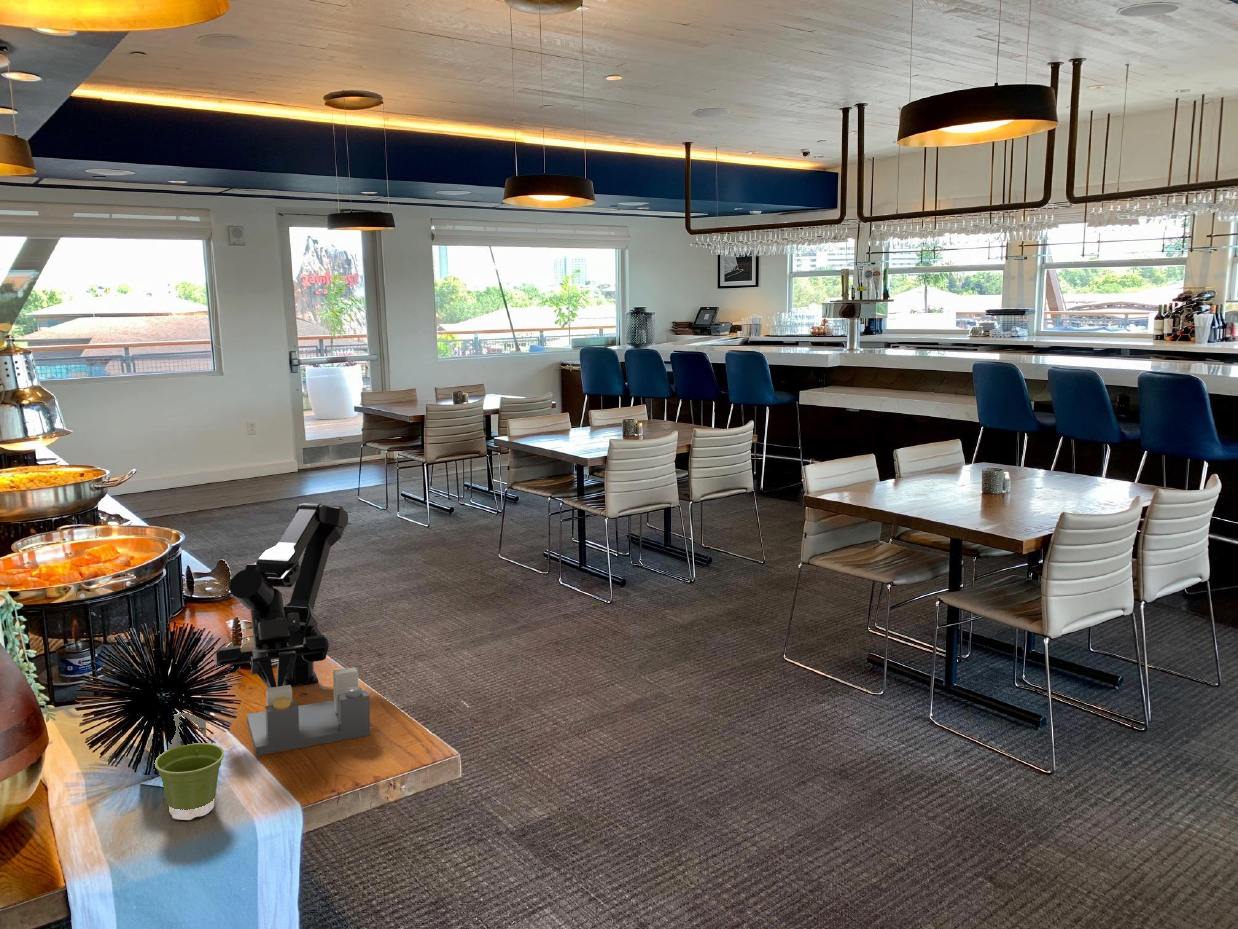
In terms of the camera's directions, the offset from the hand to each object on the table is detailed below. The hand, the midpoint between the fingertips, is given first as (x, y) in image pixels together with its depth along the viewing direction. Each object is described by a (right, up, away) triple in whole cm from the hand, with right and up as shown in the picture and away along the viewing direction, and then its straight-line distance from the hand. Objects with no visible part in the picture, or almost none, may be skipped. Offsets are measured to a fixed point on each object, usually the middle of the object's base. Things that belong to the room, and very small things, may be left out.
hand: (278, 699), depth 160 cm
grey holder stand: (+4, -6, +5) cm, 9 cm away
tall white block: (0, -5, 0) cm, 5 cm away
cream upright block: (+9, -4, +8) cm, 13 cm away
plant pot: (-4, -11, -23) cm, 26 cm away
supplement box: (-12, -9, -13) cm, 20 cm away
